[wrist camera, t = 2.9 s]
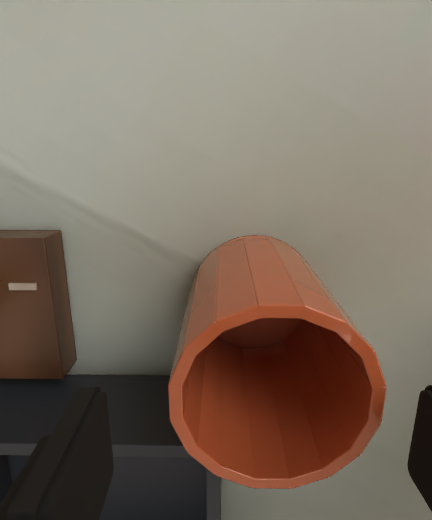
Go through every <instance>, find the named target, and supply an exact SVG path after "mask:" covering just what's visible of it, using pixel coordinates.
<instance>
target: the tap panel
mask: <svg viewBox="0 0 432 520" xmlns="http://www.w3.org/2000/svg"><path fill="white" fill-rule="evenodd" d="M76 360H77V359H76V351H75V343H74V335H73V326H72V318H71V310H70V302H69V293H68V285H67V277H66V269H65V260H64V252H63V244H62V236H61V231H60V230H0V378H5V379H64V377H65V376H66V374H67V373H68V372H69V370H70V369H71V367H72V366H73V364H74V363H75V362H76Z"/></svg>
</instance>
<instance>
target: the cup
mask: <svg viewBox="0 0 432 520" xmlns="http://www.w3.org/2000/svg"><path fill="white" fill-rule="evenodd" d="M385 394H386V383H385V380H384V377H383V374H382V371H381V368H380V365H379V362H378V359H377V356H376V353H375V351H374V349H373V348H372V347H371V345H370V344H369V343H368V341H367V340H366V339H365V337H364V336H363V335H362V333H361V332H360V331H359V329H358V328H357V327H356V325H355V324H354V323H353V321H352V320H351V319H350V318H349V316H348V315H347V314H346V312H345V311H344V310H343V308H342V307H341V306H340V304H339V303H338V302H337V300H336V299H335V298H334V296H333V295H332V294H331V292H330V291H329V290H328V288H327V287H326V286H325V285H324V283H323V282H322V281H321V279H320V278H319V277H318V275H317V274H316V273H315V271H314V270H313V269H312V267H311V266H310V265H309V264H308V263H307V262H306V261H305V260H304V258H303V257H302V256H301V255H300V254H299V253H298V252H297V251H296V250H295V249H294V248H292V247H291V246H289V245H288V244H286V243H284V242H282V241H280V240H278V239H275V238H272V237H267V236H258V235H251V236H243V237H238V238H235V239H232V240H229V241H227V242H225V243H223V244H221V245H220V246H218V247H217V248H215V249H214V250H213V251H212V252H211V253H210V254H209V255H208V256H207V257H206V258H205V259H204V261H203V262H202V263H201V265H200V267H199V269H198V271H197V273H196V276H195V278H194V281H193V284H192V286H191V290H190V295H189V299H188V303H187V307H186V311H185V316H184V320H183V324H182V328H181V332H180V337H179V341H178V345H177V349H176V354H175V358H174V362H173V366H172V370H171V375H170V379H169V384H168V395H169V418H170V422H171V424H172V426H173V427H174V429H175V431H176V433H177V435H178V437H179V439H180V441H181V442H182V444H183V446H184V448H185V450H186V451H187V453H188V454H189V455H191V456H192V457H193V458H194V459H196V460H197V461H198V462H199V463H201V464H202V465H203V466H204V467H205V468H207V469H208V470H209V471H210V472H212V473H213V474H214V475H216V476H218V477H221V478H224V479H227V480H230V481H233V482H235V483H238V484H241V485H244V486H247V487H250V488H275V489H290V488H296V487H299V486H302V485H305V484H309V483H312V482H315V481H319V480H322V479H325V478H328V477H330V476H332V475H333V474H335V473H336V472H337V471H339V470H340V469H342V468H343V467H344V466H346V465H347V464H349V463H350V462H351V461H353V460H354V459H355V458H357V457H358V456H360V454H362V452H363V451H364V449H365V447H366V446H367V444H368V443H369V441H370V440H371V438H372V437H373V435H374V434H375V432H376V431H377V429H378V428H379V426H380V424H381V421H382V414H383V408H384V401H385Z"/></svg>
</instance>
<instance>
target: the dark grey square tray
mask: <svg viewBox="0 0 432 520" xmlns="http://www.w3.org/2000/svg"><path fill="white" fill-rule="evenodd" d="M169 379H170V376H132V375H66V376H65V377H64V379H5V378H0V504H1V503H2V501H3V499H4V498H5V496H6V495H7V493H8V491H9V490H10V488H11V486H12V485H13V483H14V481H15V480H16V478H17V476H18V475H19V473H20V471H21V470H22V468H23V467H24V465H25V463H26V462H27V460H28V458H29V457H30V455H31V453H32V452H33V450H34V448H35V447H36V445H37V444H38V442H39V440H40V439H41V438H42V437H43V436H44V435H51V434H52V432H53V431H54V429H55V427H56V425H57V424H58V422H59V420H60V419H61V417H62V415H63V413H64V412H65V410H66V408H67V406H68V405H69V403H70V401H71V400H72V398H73V396H74V394H75V393H76V391H77V389H78V388H79V387H100V389H101V392H106V394H107V401H108V411H109V422H110V432H111V442H112V452H113V463H114V470H113V476H112V480H111V483H110V486H109V490H108V493H107V496H106V499H105V502H104V506H103V509H102V512H101V515H100V518H99V520H221V477H218V476H216V475H214V474H213V473H212V472H210V471H209V470H208V469H207V468H205V467H204V466H203V465H202V464H201V463H199V462H198V461H197V460H196V459H194V458H193V457H192V456H191V455H189V454H188V453H187V451H186V450H185V448H184V446H183V444H182V442H181V441H180V439H179V437H178V435H177V433H176V431H175V429H174V427H173V426H172V424H171V422H170V418H169V395H168V384H169Z"/></svg>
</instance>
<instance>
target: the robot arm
mask: <svg viewBox="0 0 432 520" xmlns="http://www.w3.org/2000/svg"><path fill="white" fill-rule="evenodd" d="M113 470H114V463H113V452H112V442H111V432H110V422H109V411H108V401H107V394H106V392H101V389H100V387H79V388H78V389H77V391H76V393H75V394H74V396H73V398H72V400H71V401H70V403H69V405H68V406H67V408H66V410H65V412H64V413H63V415H62V417H61V419H60V420H59V422H58V424H57V425H56V427H55V429H54V431H53V432H52V434H51V435H44V436H43V437H42V438H41V439H40V440H39V442H38V444H37V445H36V447H35V448H34V450H33V452H32V453H31V455H30V457H29V458H28V460H27V462H26V463H25V465H24V467H23V468H22V470H21V471H20V473H19V475H18V476H17V478H16V480H15V481H14V483H13V485H12V486H11V488H10V490H9V491H8V493H7V495H6V496H5V498H4V499H3V501H2V503H1V504H0V520H99V518H100V515H101V512H102V509H103V506H104V502H105V499H106V496H107V493H108V490H109V486H110V483H111V480H112V476H113ZM408 471H409V474H410V476H411V478H412V480H413V482H414V483H415V485H416V487H417V488H418V490H419V492H420V493H421V495H422V496H423V498H424V500H425V501H426V503H427V505H428V506H429V508H430V510H431V511H432V385H429V386H427V387H426V388H425V390H423V391H421V392H420V396H419V401H418V407H417V413H416V418H415V424H414V430H413V435H412V441H411V447H410V452H409V458H408Z"/></svg>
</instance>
